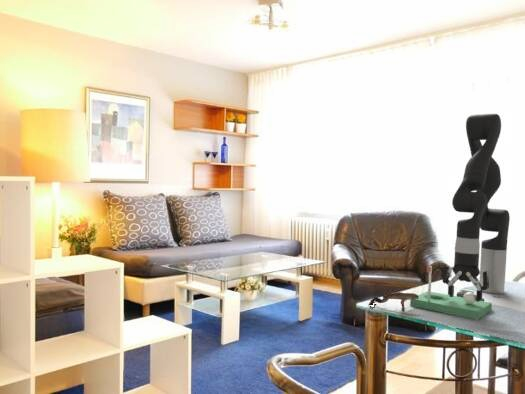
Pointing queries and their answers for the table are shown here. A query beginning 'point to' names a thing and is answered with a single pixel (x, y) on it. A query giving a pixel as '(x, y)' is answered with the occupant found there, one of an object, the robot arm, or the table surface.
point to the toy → (396, 295)
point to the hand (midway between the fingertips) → (464, 298)
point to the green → (452, 305)
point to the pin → (429, 269)
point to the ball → (469, 298)
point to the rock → (461, 294)
